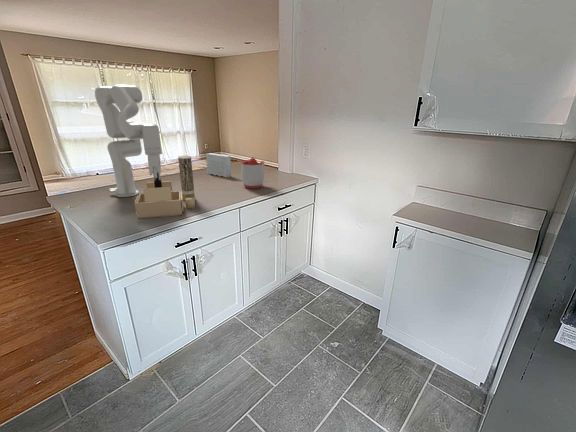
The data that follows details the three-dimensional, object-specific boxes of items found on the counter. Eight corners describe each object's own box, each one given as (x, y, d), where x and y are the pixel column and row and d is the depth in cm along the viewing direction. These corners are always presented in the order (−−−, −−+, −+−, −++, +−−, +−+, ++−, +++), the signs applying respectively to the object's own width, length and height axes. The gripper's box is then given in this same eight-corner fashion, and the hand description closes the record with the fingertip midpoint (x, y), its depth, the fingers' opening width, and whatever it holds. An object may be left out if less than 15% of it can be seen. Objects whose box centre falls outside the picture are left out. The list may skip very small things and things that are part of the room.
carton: (136, 219, 143) (134, 203, 140) (140, 208, 157) (138, 193, 154) (183, 214, 149) (182, 199, 147) (183, 204, 164) (181, 190, 161)
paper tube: (190, 196, 177) (186, 155, 168) (197, 199, 173) (193, 156, 164) (180, 199, 172) (175, 156, 163) (187, 202, 168) (182, 158, 159)
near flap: (144, 201, 141) (143, 188, 141) (145, 202, 141) (143, 188, 141) (171, 199, 144) (170, 186, 145) (171, 200, 145) (170, 187, 145)
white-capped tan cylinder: (186, 209, 157) (185, 200, 156) (185, 206, 162) (185, 197, 160) (195, 208, 159) (194, 199, 157) (195, 205, 163) (194, 196, 161)
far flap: (172, 190, 159) (170, 180, 155) (172, 190, 159) (170, 181, 154) (148, 191, 156) (146, 182, 151) (148, 192, 155) (145, 182, 151)
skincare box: (231, 176, 226) (230, 155, 220) (226, 177, 222) (225, 156, 216) (212, 172, 236) (210, 152, 230) (206, 173, 232) (205, 153, 226)
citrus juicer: (269, 185, 206) (270, 156, 199) (257, 191, 191) (257, 160, 184) (250, 182, 212) (250, 154, 205) (237, 187, 197) (236, 158, 190)
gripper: (146, 149, 147) (151, 184, 154) (143, 153, 134) (149, 192, 141) (162, 148, 149) (167, 183, 156) (160, 153, 136) (166, 191, 143)
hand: (158, 187), depth 148 cm, fingers closed
